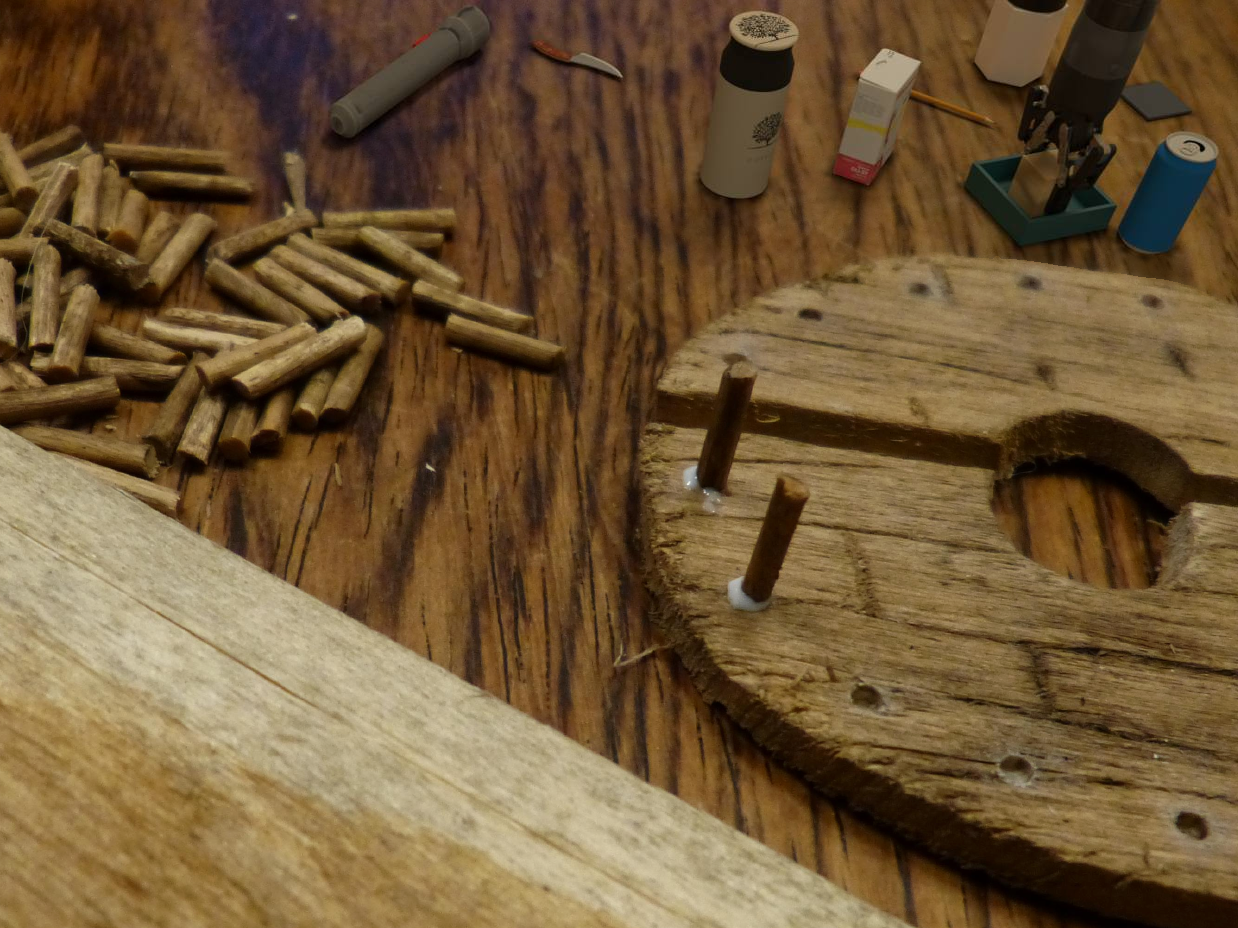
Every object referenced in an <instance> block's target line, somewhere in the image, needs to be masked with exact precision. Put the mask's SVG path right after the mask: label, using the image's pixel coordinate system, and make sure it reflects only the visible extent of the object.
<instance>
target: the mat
mask: <svg viewBox="0 0 1238 928" xmlns="http://www.w3.org/2000/svg"><path fill="white" fill-rule="evenodd" d="M1120 98H1122V99H1123V100H1124V101H1125V103H1127V104H1128V105H1129V106H1131V107H1132V108H1133V109H1134V110H1135V111H1136V112H1137V113H1138V114H1139V115H1140V116H1142V117H1143V118H1144V119H1145V120H1146V121H1153V120H1159V119H1164V118H1171V117H1176V116H1182V115H1187V114H1192V111H1193V109H1192V108H1190V107H1189V106H1188V105H1187V104H1186V102H1184V101H1182V100H1181V99H1180V98H1179V97H1178V96H1177V95H1176V94H1174V93H1173V92H1172V91H1171V90H1170V89H1168V87H1167V86H1165V85H1164V84H1163V83H1162V82H1161V81H1157V82H1151V83H1144V84H1138V85H1133V86H1127V87H1126V86H1125V87H1124V89H1123V91H1122V94H1121V96H1120Z"/></svg>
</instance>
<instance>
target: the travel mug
mask: <svg viewBox="0 0 1238 928" xmlns="http://www.w3.org/2000/svg"><path fill="white" fill-rule="evenodd" d="M728 30H729V34H730V40H729V41H728V42H727V44H726V45H725V46H724V48H723V50H722V52H721V57H720V62H719V68H718V75H717V79H716V85H715V89H714V90H715V91H714V97H713V101H712V107H711V111H710V112H711V113H710V117H709V123H708V128H707V129H708V130H707V133H706V134H707V135H706V141H705V145H704V152H703V156H702V161H701V168H700V180H701V182H702V184H703V185H704V186H705V187H706V188H707V189H709V190H710V191H711V192H713V193H715V194H717V195H720V196H721V197H722V196H723V197H726V198H731V199H747V198H748V199H749V198H753V197H755V196H756V197H757V196H759V195H760V194H761V193H763V192H764V191H765V190H766V189H767V186H768V182H769V178H770V174H771V171H772V166H773V162H774V161H773V160H774V156H775V152H776V148H777V144H778V139H779V134H780V130H781V126H782V122H783V118H784V113H785V108H786V105H787V100H788V96H789V91H790V87H791V82H792V77H793V75H794V74H793V73H794V71H795V70H794V69H795V65H796V63H795V58H794V53H793V48H794V45H795V44H797V42H798V41H799V38H800V32H799V29H798V27H797V25H795V24H794V22H793V21H792V20H790V19H788V18H787V17H785V16H783V15H780V14H777V13H774V12H769V11H764V10H763V11H762V10H754V11H753V10H752V11H746V12H742V13H739V14H737V15H735V16H734V17H733V18H732V19H731V20H730V21H729V25H728Z"/></svg>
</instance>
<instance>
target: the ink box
mask: <svg viewBox="0 0 1238 928" xmlns="http://www.w3.org/2000/svg"><path fill="white" fill-rule="evenodd" d="M921 63H922V62H921V61H920V60H917V59H915V58H912V57H910V56H907V55H905V54H902V53H900V52H897V51H894V50H892V49H889V48H882V49H881V50H880V51H879V52H877V55H875V57H874V58H873V59H872V60H871V62H870V63H868V65H867V66H866V67H865V68H864V70H862V71H863V72H862V73H861V74H860V76H859V79H858V83H857V86H856V89H855V93H854V96H853V99H852V104H851V107H850V109H849V113H848V117H847V121H846V124H845V128H844V131H843V133H842V138H841V141H840V144H839V149H838V152H837V155H836V159H835V162H834V166H833V170H832V174H834V175H837V176H841V177H843V178H844V179H845V178H846V179H849V180H852V181H854V182H857V183H861V184H862V185H865V186H870V185H871V183H872V182H873V180H874V179H875V178H876V176H877V174H879V172H880V171H881V168H882V167H883V166H884V165H885V163H886V161H887V160H888V158H889V157H890V156H891V154H892V152H893V149H894V146H895V143H896V140H897V137H898V134H899V130H900V127H901V124H902V120H903V117H904V114H905V111H906V108H907V105H908V101H909V98H910V96H911V95H910V93H911V90H913V86H914V84H915V80H916V77H917V75H918V71H919V69H920V68H919V67H920V66H921Z"/></svg>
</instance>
